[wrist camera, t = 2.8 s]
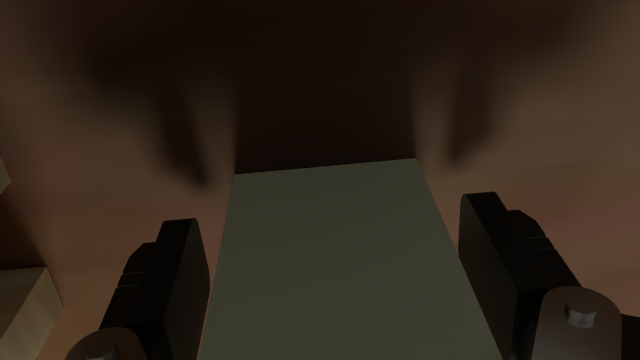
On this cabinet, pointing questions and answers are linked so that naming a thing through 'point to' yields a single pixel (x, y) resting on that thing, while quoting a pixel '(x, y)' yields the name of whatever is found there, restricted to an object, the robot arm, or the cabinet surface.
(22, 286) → the domino
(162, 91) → the cabinet surface
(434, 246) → the domino
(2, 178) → the domino
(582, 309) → the robot arm
